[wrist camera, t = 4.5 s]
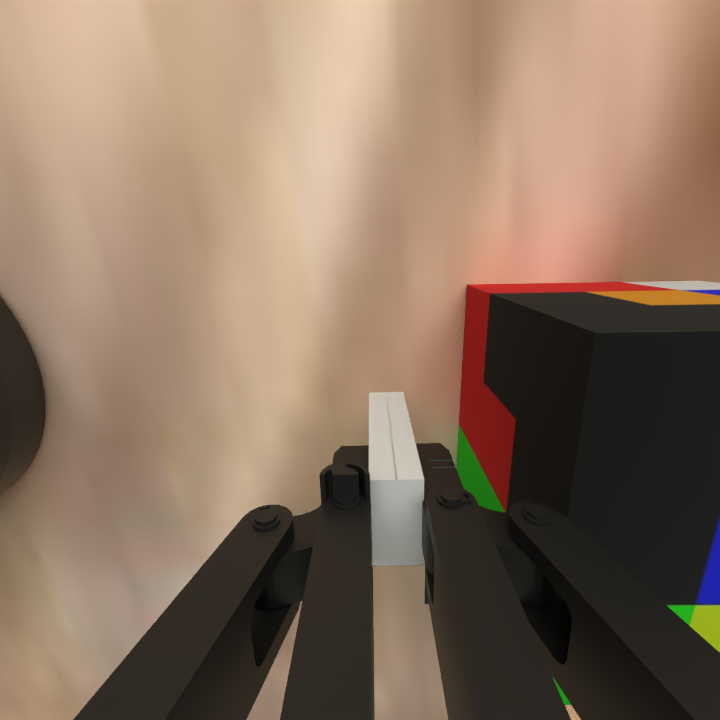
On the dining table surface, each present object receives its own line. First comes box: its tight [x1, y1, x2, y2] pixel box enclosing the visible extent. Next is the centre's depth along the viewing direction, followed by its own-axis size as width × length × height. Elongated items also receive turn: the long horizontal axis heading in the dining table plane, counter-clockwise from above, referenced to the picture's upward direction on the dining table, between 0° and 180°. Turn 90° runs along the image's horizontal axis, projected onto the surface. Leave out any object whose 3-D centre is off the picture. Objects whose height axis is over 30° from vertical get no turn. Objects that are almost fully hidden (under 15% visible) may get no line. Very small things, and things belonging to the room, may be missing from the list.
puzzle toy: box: [457, 281, 720, 705], centre depth 14 cm, size 10×10×10 cm
